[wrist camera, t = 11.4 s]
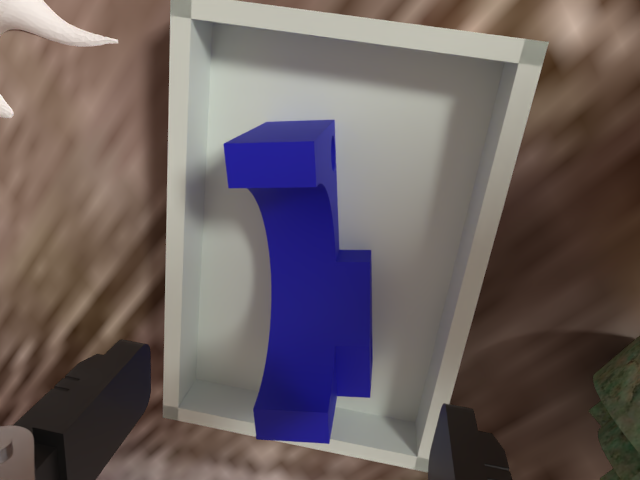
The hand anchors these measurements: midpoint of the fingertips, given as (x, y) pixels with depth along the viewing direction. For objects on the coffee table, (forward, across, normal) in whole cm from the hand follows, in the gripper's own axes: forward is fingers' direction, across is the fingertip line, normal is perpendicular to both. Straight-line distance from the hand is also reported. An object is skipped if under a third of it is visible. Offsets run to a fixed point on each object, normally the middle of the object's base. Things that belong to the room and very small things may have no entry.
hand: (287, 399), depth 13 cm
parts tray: (+12, +1, 0) cm, 12 cm away
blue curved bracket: (+11, +1, 0) cm, 11 cm away
